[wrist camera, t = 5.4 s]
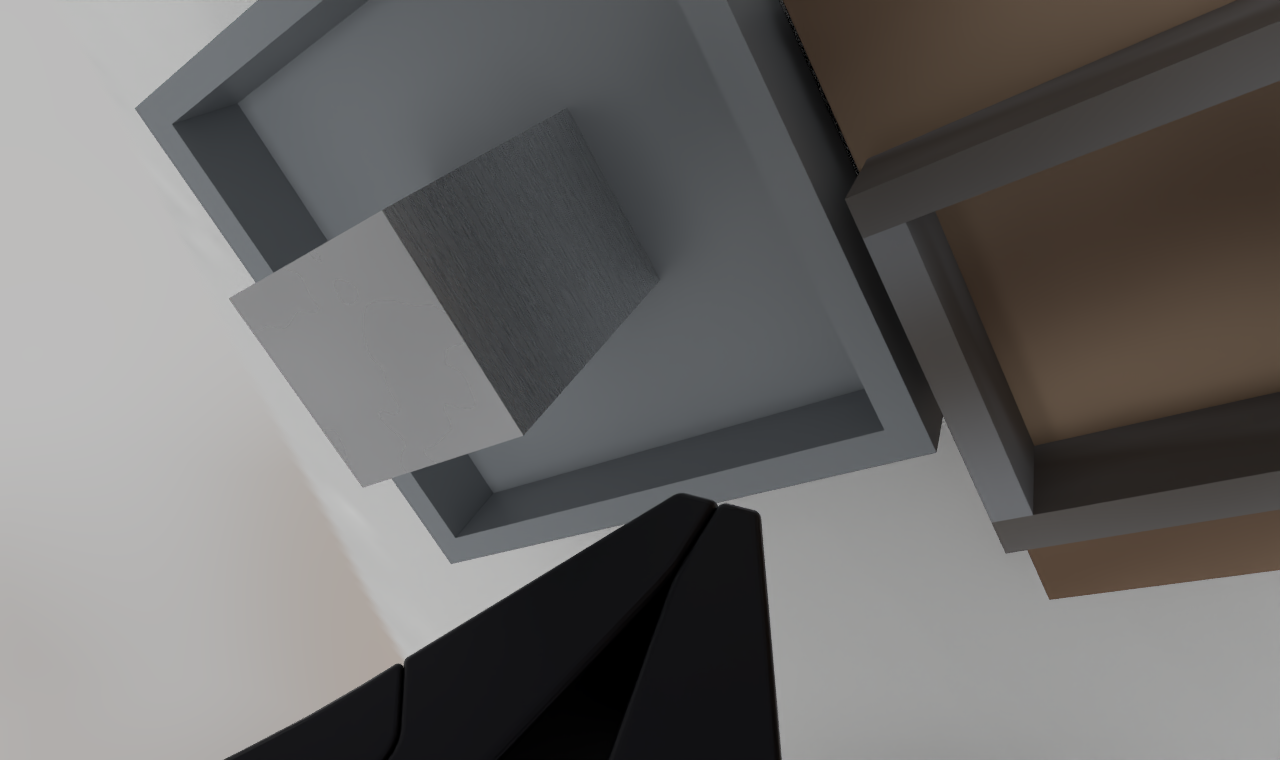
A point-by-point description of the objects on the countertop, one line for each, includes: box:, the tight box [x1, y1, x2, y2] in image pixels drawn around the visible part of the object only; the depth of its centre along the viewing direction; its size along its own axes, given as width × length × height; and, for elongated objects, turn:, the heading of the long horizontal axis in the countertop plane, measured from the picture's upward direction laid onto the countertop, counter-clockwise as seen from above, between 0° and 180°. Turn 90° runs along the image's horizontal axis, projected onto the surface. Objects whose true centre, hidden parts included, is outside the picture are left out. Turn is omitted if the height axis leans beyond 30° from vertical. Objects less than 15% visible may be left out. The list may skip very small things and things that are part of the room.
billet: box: [229, 107, 660, 487], centre depth 19 cm, size 4×4×7 cm
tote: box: [135, 0, 943, 564], centre depth 21 cm, size 15×15×3 cm
